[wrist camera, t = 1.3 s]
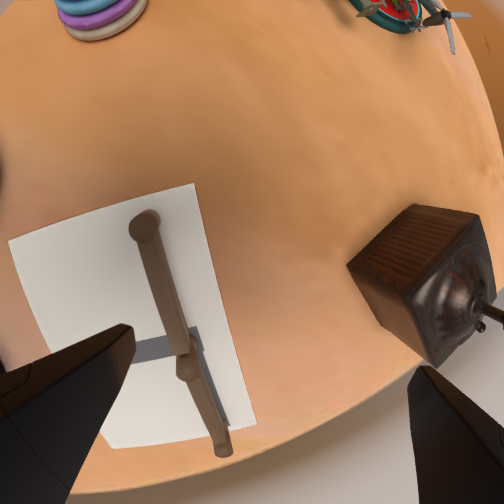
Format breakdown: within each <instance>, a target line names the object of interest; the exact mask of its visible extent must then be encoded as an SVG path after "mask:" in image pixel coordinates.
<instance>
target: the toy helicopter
mask: <svg viewBox="0 0 504 504" xmlns="http://www.w3.org/2000/svg"><path fill="white" fill-rule="evenodd" d="M349 1H350V2H351V4H352V5H353V6H354V7H355V8H356V9H357V10H358V11H359V12H360V13H359V14H358V15H357V16H356V17H364V16H365V17H366V18H367V19H369V20H370V21H371V22H373V23H375V24H376V25H378V26H380V27H381V28H383V29H386V30H388V31H390V32H394V33H399V34H407V33H410V32H412V33H414V30H416V29H418V31H419V32H421V30H420V29H422V28H427V27H429V26H437V25H442V24H444V25H445V27H446V30H447V33H448V37H449V42H450V48H451V52H452V54H454V55H455V47H454V41H453V35H452V28H451V23H450V21H449V20H450V18H452V19H454V18H472V16H471V14H470V13H466V12H449V11H447V10H445V9H444V8H442V7H441V5H440V3H439V2H438V1H437V0H349ZM420 3H421V4H422V5H423V6H424V8H425V9H426V10H427V11H428V13H429V14H430V15H431V16H430V17H428V18H426V19H425V20H424V21H423V23H422V24H423V26H420V23H421V19H423V18H422V8H421V4H420ZM432 3H433V4H432ZM434 6H435V7H436V8H439V9H440V10H441V11H440V12H438V11H437V10H436V8H435V7H434Z"/></svg>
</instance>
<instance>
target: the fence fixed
mask: <svg viewBox="0 0 504 504" xmlns="http://www.w3.org/2000/svg"><path fill="white" fill-rule="evenodd" d="M189 343H190V353H187V354H182V355H178V356H176V376H177V377H178V378H179V379H180V380H182V381H184V382H186V384H187V386H188V389H189V391H190V393H191V395H192V398H193V400H194V402H195V404H196V407H197V409H198V411H199V413H200V415H201V417H202V420H203V422H204V424H205V426H206V428H207V430H208V432H209V434H210V436H211V438H212V440H213V446H214V452H215V455H216V456H217V457H220V458H225V457H229V456H231V455H232V454H233V448H232V444H231V440H230V435H229V431H228V426H227V421H226V419H224V418H222V417H221V415H220V412H219V410H218V407H217V405H216V402H215V400H214V397H213V395H212V392H211V390H210V387H209V384H208V382H207V379H206V376H205V374H204V371H203V368H202V366H201V363H200V360H199V357H198V351H197V340H196V338H195V337H194V336H193V335H191V334H189Z"/></svg>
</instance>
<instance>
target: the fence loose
mask: <svg viewBox="0 0 504 504" xmlns="http://www.w3.org/2000/svg"><path fill="white" fill-rule="evenodd" d="M160 223H161V219H160V216H159V214H158V213H157V212H156V211H154V210H145V211H143V212H141V213H140V214H138V215H137V216H135V217H134V218H133V219H132V220H131V221H130V223H129V227H128V231H129V234H130V236H131V238H132V239H133V240H134V241H136V242H137V245H138V249H139V252H140V256H141V259H142V262H143V266H144V269H145V272H146V276H147V279H148V282H149V285H150V288H151V291H152V294H153V297H154V300H155V303H156V306H157V309H158V312H159V315H160V318H161V321H162V323H163V326H164V329H165V332H166V334H167V337H168V340H169V342H170V345H171V348H172V350H173V353H174V355H175V356H178V355H182V354H187V353H190V343H189V329H188V326H187V323H186V320H185V317H184V314H183V311H182V307H181V304H180V301H179V298H178V295H177V291H176V288H175V285H174V281H173V278H172V274H171V271H170V268H169V264H168V260H167V257H166V253H165V250H164V246H163V242H162V238H161V235H160V231H159V226H160Z"/></svg>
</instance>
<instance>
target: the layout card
mask: <svg viewBox="0 0 504 504" xmlns="http://www.w3.org/2000/svg"><path fill="white" fill-rule="evenodd" d="M145 210H154V211H156V212H157V213H158V214H159V216H160V219H161V223H160V226H159V231H160V235H161V238H162V242H163V246H164V250H165V253H166V257H167V260H168V264H169V268H170V271H171V274H172V278H173V281H174V285H175V288H176V291H177V295H178V298H179V301H180V304H181V307H182V311H183V314H184V317H185V320H186V323H187V326H188V329H189V334H191V335H193V336H194V337H195V338H196V340H197V351H198V357H199V360H200V363H201V366H202V368H203V371H204V374H205V376H206V379H207V382H208V384H209V387H210V390H211V392H212V395H213V397H214V400H215V402H216V405H217V407H218V410H219V412H220V415H221V417H222V418H224V419H226V421H227V426H228V431H232V430H236V429H240V428H244V427H248V426H252V425H256V424H257V422H256V418H255V415H254V412H253V409H252V405H251V402H250V399H249V395H248V392H247V389H246V385H245V382H244V379H243V375H242V372H241V368H240V365H239V361H238V358H237V354H236V351H235V347H234V344H233V340H232V336H231V333H230V329H229V325H228V322H227V318H226V314H225V310H224V307H223V303H222V299H221V295H220V291H219V287H218V283H217V280H216V276H215V272H214V268H213V264H212V259H211V255H210V251H209V247H208V243H207V239H206V235H205V230H204V226H203V222H202V218H201V213H200V209H199V204H198V200H197V195H196V191H195V186H194V183H191V184H187V185H183V186H179V187H175V188H171V189H167V190H163V191H159V192H156V193H152V194H148V195H144V196H141V197H137V198H134V199H130V200H127V201H123V202H120V203H116V204H113V205H110V206H106V207H103V208H100V209H97V210H93V211H90V212H87V213H84V214H81V215H78V216H75V217H72V218H69V219H66V220H63V221H60V222H57V223H54V224H52V225H49V226H46V227H43V228H41V229H38V230H35V231H32V232H30V233H27V234H24V235H22V236H19V237H17V238H14V239H12V240H9V241H8V243H9V247H10V250H11V254H12V257H13V260H14V264H15V267H16V270H17V273H18V276H19V279H20V282H21V284H22V287H23V290H24V292H25V295H26V298H27V300H28V303H29V305H30V308H31V310H32V313H33V315H34V317H35V320H36V322H37V324H38V326H39V329H40V331H41V333H42V335H43V337H44V339H45V341H46V343H47V346H48V348H49V350H50V352H51V353H54V352H57V351H59V350H61V349H64V348H66V347H68V346H70V345H73V344H75V343H77V342H79V341H82V340H84V339H86V338H88V337H91V336H93V335H95V334H97V333H99V332H102V331H104V330H106V329H108V328H111V327H113V326H115V325H117V324H120V323H123V324H127V325H131V326H132V327H133V328H134V334H135V340H136V353H135V355H134V358H133V360H132V363H131V365H130V368H129V370H128V373H127V375H126V378H125V380H124V383H123V385H122V388H121V390H120V392H119V394H118V396H117V398H116V400H115V402H114V404H113V406H112V408H111V409H110V411H109V413H108V415H107V417H106V419H105V421H104V423H103V425H102V427H101V429H100V431H99V432H100V433H101V434H102V436H103V437H104V438H105V440H106V441H107V442H108V444H109V445H110V446H111V447H112V449H117V448H130V447H140V446H149V445H157V444H164V443H171V442H178V441H184V440H189V439H195V438H200V437H205V436H210V434H209V432H208V430H207V428H206V426H205V424H204V422H203V420H202V417H201V415H200V413H199V411H198V409H197V407H196V404H195V402H194V400H193V398H192V395H191V393H190V391H189V389H188V386H187V384H186V382H184V381H182V380H180V379H179V378H178V377H177V376H176V356H175V355H174V353H173V350H172V348H171V345H170V342H169V340H168V337H167V334H166V332H165V329H164V326H163V323H162V321H161V318H160V315H159V312H158V309H157V306H156V303H155V300H154V297H153V294H152V291H151V288H150V285H149V282H148V279H147V276H146V272H145V269H144V266H143V262H142V259H141V256H140V252H139V249H138V245H137V242H136V241H134V240H133V239H132V238H131V236H130V234H129V231H128V227H129V223H130V221H131V220H132V219H133V218H134V217H135V216H137V215H138V214H140V213H141V212H143V211H145Z"/></svg>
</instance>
